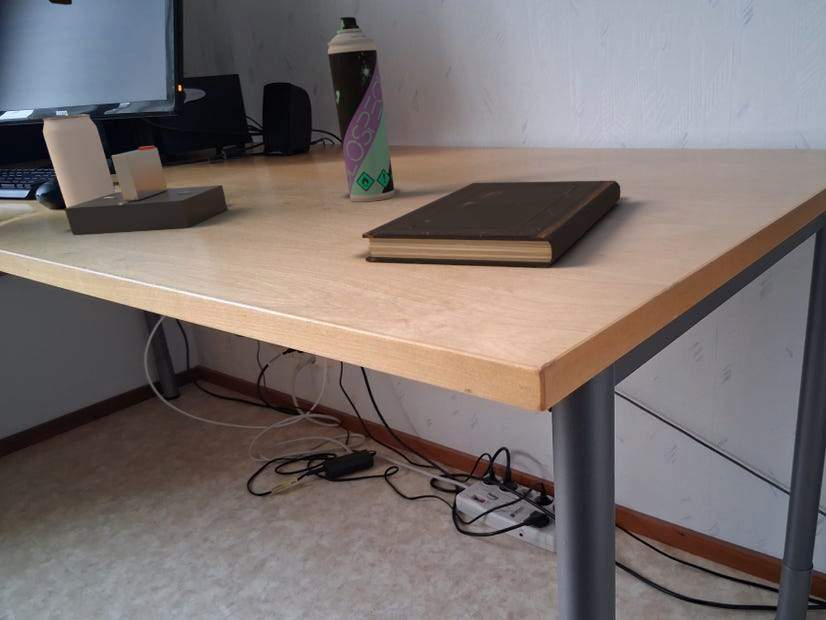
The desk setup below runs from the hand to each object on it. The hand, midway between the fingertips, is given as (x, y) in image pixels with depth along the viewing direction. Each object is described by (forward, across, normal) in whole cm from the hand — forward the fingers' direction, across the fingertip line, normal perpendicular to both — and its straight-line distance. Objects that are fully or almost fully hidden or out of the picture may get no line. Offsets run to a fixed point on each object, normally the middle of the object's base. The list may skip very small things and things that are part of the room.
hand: (22, 7), depth 79 cm
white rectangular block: (+21, +12, -5) cm, 25 cm away
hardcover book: (+24, +55, -20) cm, 63 cm away
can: (+24, -5, +9) cm, 26 cm away
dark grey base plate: (+24, +12, -5) cm, 27 cm away
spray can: (+24, +37, +2) cm, 44 cm away
